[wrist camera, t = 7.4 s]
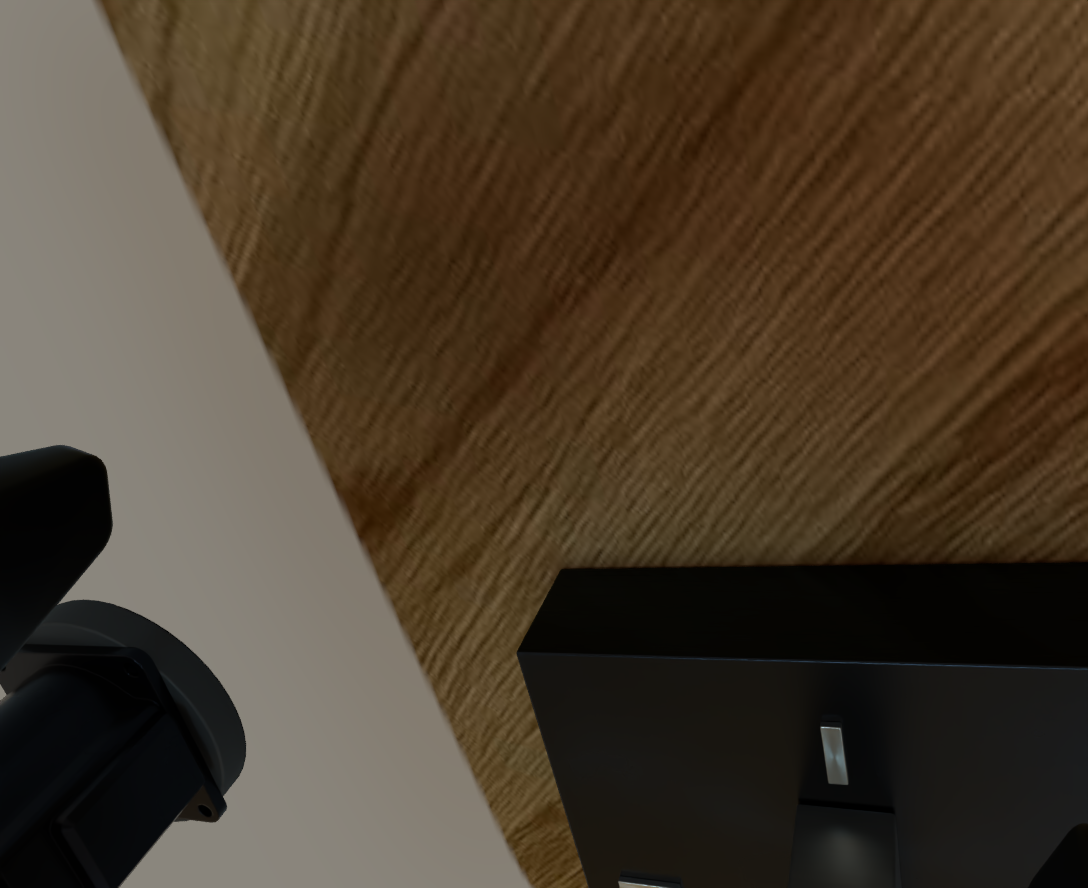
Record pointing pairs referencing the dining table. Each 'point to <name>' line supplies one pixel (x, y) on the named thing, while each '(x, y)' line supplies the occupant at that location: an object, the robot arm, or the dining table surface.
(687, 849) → the console
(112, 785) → the robot arm
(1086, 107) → the dining table surface
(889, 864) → the dial
